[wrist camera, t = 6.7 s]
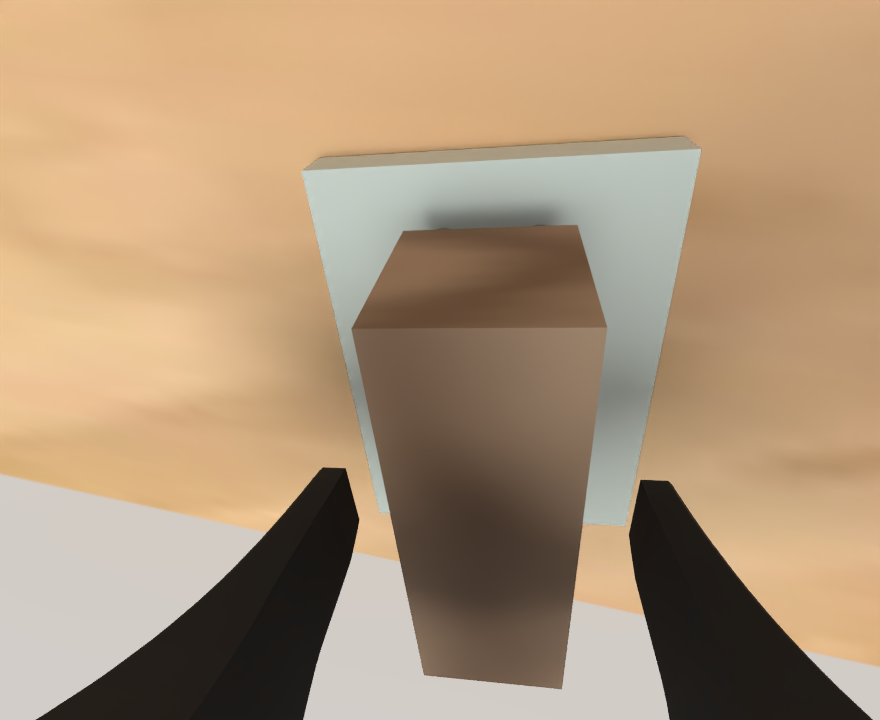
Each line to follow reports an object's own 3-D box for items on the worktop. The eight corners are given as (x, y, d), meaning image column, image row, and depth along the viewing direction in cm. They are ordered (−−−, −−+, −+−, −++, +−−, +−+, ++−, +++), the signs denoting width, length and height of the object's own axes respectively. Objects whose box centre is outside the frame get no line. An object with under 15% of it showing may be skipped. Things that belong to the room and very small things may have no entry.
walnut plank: (577, 224, 11) (607, 328, 7) (552, 550, 18) (561, 689, 14) (403, 230, 12) (351, 328, 8) (442, 543, 18) (424, 675, 15)
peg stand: (684, 136, 13) (731, 170, 10) (619, 495, 21) (635, 572, 18) (319, 157, 14) (271, 192, 12) (387, 485, 22) (368, 554, 19)
